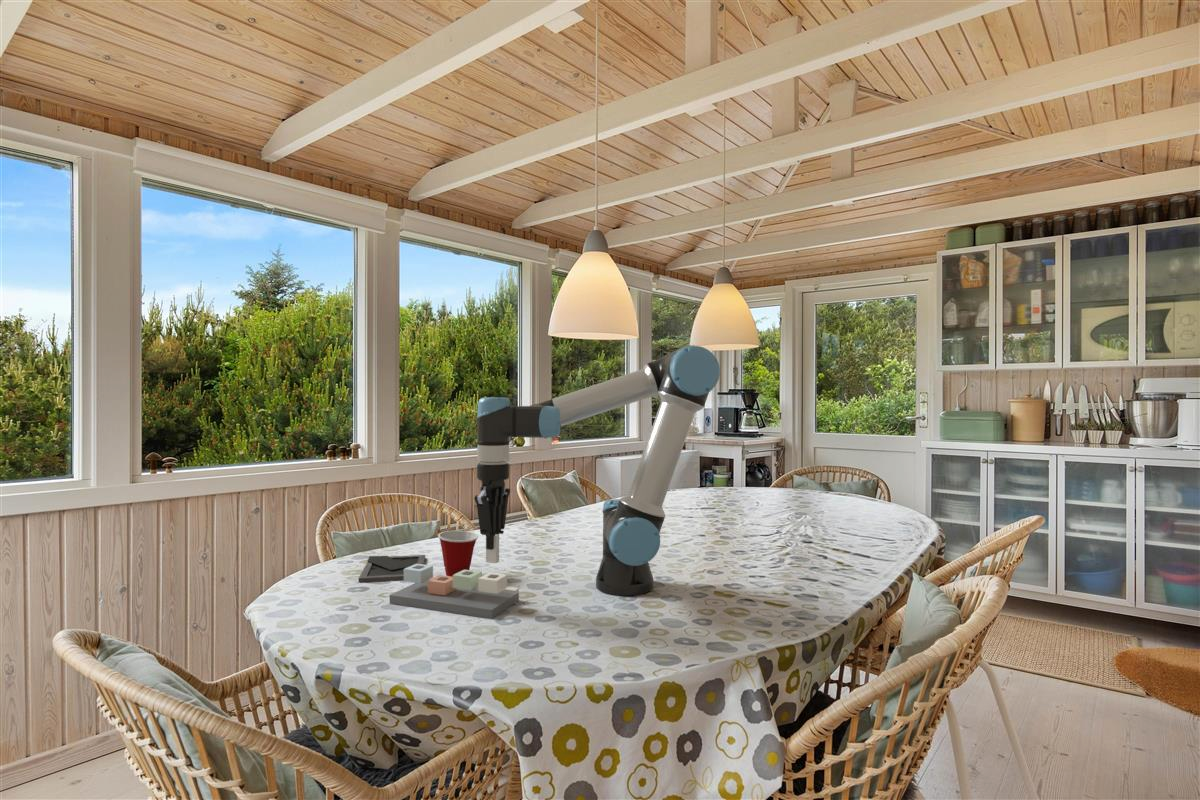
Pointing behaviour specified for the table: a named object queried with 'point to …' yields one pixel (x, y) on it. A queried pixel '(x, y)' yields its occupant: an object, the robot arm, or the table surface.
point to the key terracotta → (441, 585)
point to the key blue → (418, 573)
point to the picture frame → (388, 567)
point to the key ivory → (492, 583)
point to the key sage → (466, 579)
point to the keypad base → (457, 600)
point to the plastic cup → (457, 550)
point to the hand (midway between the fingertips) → (492, 561)
